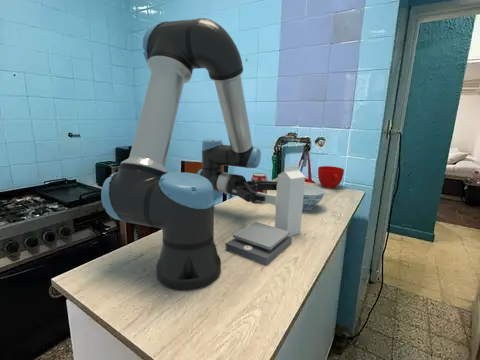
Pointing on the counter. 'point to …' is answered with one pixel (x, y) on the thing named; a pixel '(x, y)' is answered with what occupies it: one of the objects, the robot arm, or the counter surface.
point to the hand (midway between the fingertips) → (285, 195)
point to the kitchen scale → (259, 242)
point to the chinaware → (311, 196)
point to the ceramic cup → (330, 176)
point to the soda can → (260, 178)
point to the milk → (290, 200)
